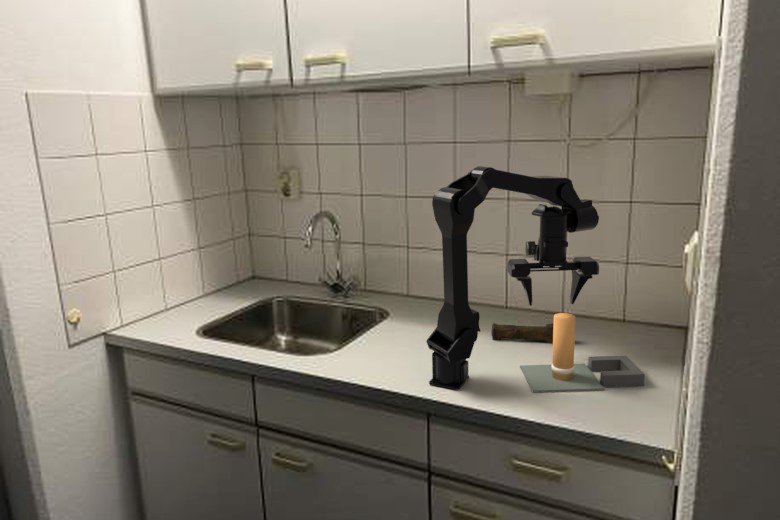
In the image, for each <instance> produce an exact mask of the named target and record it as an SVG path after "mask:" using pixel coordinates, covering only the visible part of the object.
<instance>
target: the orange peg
mask: <svg viewBox="0 0 780 520" xmlns="http://www.w3.org/2000/svg"><path fill="white" fill-rule="evenodd" d="M576 319H577V317H576V316H575V315H574V314H572V313H566V312H559V313H555V314H554V315H553V323H554V325H553V343H552V358H551V359H552V360H551V362H552V363H551V364H552V367H551V369H552V377H553V378H555V379H557V380H562V381H567V380H571V379H573V372H574V364H575V344H576V343H575V340H576Z"/></svg>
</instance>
